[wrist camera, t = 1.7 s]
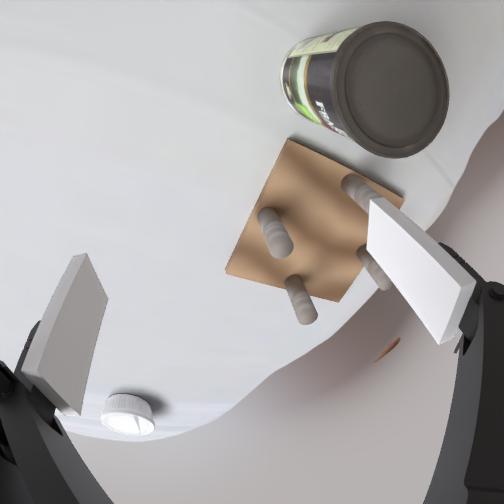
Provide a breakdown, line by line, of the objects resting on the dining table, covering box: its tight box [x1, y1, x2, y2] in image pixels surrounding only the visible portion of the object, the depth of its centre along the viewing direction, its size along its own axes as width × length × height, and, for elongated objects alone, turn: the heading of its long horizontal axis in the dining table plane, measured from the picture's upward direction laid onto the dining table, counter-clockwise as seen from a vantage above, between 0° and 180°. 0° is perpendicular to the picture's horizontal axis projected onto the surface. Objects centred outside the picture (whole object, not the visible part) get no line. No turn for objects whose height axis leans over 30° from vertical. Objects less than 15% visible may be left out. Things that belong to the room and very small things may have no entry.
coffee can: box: [280, 21, 449, 158], centre depth 23 cm, size 10×10×14 cm
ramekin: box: [100, 394, 155, 435], centre depth 53 cm, size 11×11×5 cm
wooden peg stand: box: [225, 138, 405, 325], centre depth 36 cm, size 18×18×8 cm
